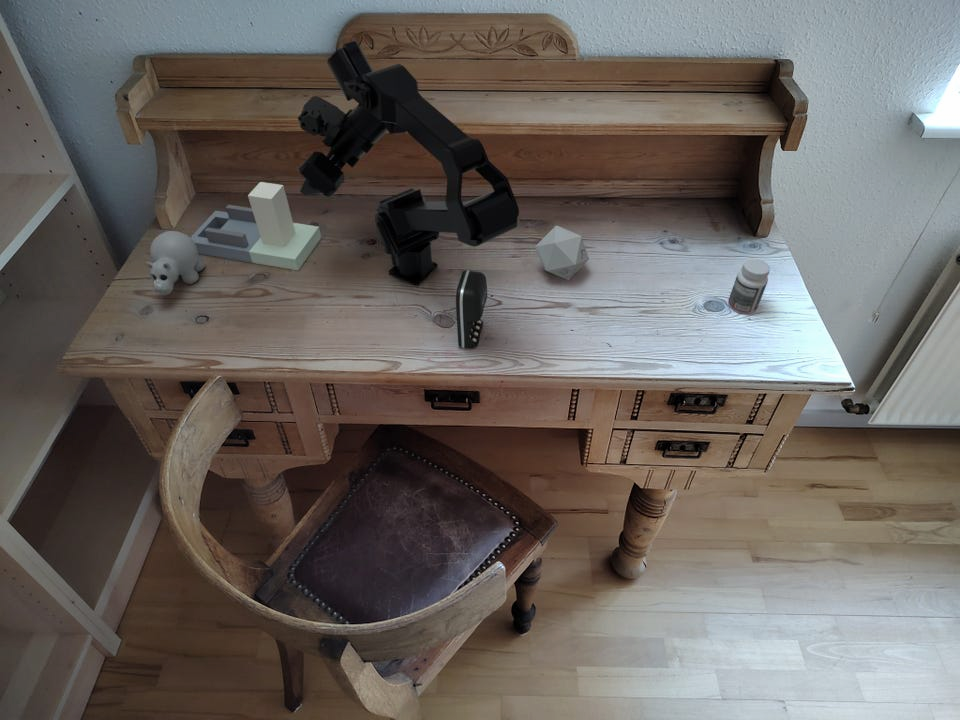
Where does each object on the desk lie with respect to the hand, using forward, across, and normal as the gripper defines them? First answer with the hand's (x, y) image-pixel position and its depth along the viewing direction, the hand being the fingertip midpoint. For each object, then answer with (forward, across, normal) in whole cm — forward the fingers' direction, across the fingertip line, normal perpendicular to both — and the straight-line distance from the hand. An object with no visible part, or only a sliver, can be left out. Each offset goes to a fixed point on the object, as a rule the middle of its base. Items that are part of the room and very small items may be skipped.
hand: (314, 178), depth 114 cm
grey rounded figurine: (+24, +18, -5) cm, 30 cm away
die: (-21, -3, +40) cm, 46 cm away
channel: (+19, +4, +1) cm, 19 cm away
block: (+13, +4, +2) cm, 14 cm away
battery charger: (-13, +17, +33) cm, 39 cm away
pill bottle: (-43, -1, +62) cm, 76 cm away
